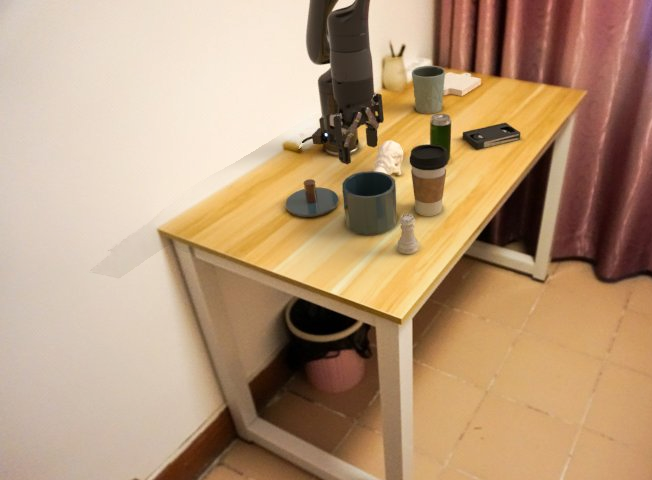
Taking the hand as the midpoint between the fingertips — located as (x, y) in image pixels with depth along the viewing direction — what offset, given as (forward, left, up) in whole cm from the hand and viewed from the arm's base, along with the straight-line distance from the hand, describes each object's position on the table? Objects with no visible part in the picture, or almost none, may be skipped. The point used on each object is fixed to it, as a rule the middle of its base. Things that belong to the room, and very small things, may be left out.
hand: (359, 154), depth 107 cm
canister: (0, +4, -19) cm, 19 cm away
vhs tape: (+19, +52, -19) cm, 59 cm away
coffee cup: (+11, +12, -19) cm, 25 cm away
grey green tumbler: (-4, +69, -19) cm, 72 cm away
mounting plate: (0, +90, -19) cm, 92 cm away
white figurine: (-3, +23, -19) cm, 30 cm away
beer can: (+8, +36, -19) cm, 41 cm away
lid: (-16, +7, -18) cm, 25 cm away
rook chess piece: (+11, -4, -19) cm, 22 cm away
